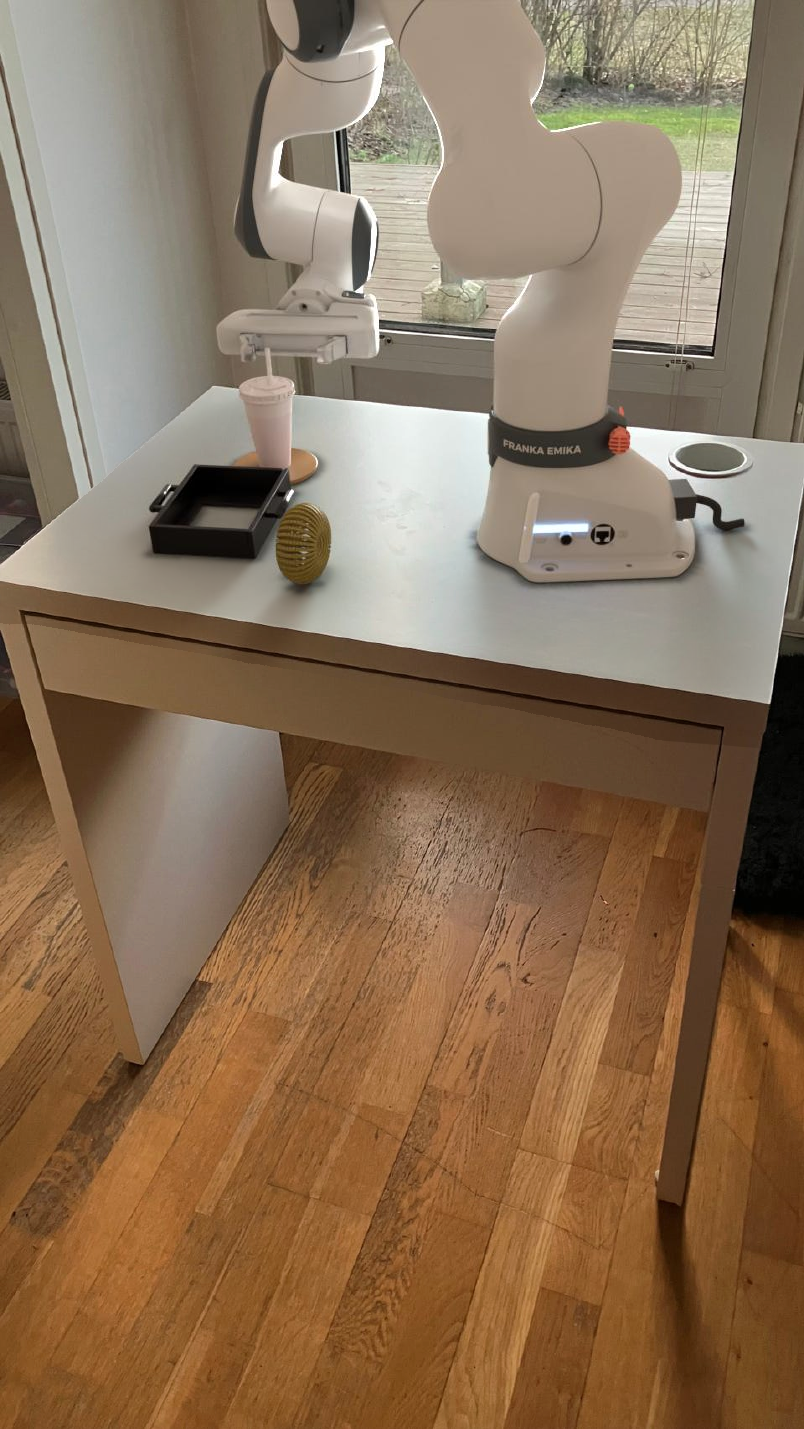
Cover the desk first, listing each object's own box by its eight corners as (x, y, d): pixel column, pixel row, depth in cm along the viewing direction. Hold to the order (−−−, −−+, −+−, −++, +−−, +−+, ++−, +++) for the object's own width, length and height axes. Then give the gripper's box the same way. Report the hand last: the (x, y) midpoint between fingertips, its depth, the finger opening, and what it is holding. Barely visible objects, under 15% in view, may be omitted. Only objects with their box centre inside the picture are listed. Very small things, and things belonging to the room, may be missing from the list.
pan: (307, 494, 135) (305, 468, 133) (272, 560, 123) (269, 532, 121) (182, 489, 137) (178, 463, 135) (136, 552, 125) (131, 525, 123)
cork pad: (326, 452, 144) (325, 448, 144) (306, 489, 136) (306, 485, 136) (246, 449, 145) (246, 445, 145) (223, 485, 138) (222, 481, 137)
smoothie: (293, 477, 137) (281, 359, 129) (240, 474, 139) (225, 357, 130) (307, 454, 142) (297, 339, 134) (256, 451, 144) (243, 337, 135)
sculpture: (303, 557, 123) (296, 487, 118) (339, 562, 122) (334, 491, 117) (273, 596, 117) (264, 523, 112) (311, 601, 116) (304, 528, 111)
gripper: (230, 292, 152) (197, 328, 141) (387, 295, 149) (365, 333, 138) (236, 340, 156) (204, 380, 145) (389, 345, 153) (368, 385, 142)
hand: (284, 357), depth 141 cm, fingers open, 8 cm apart
